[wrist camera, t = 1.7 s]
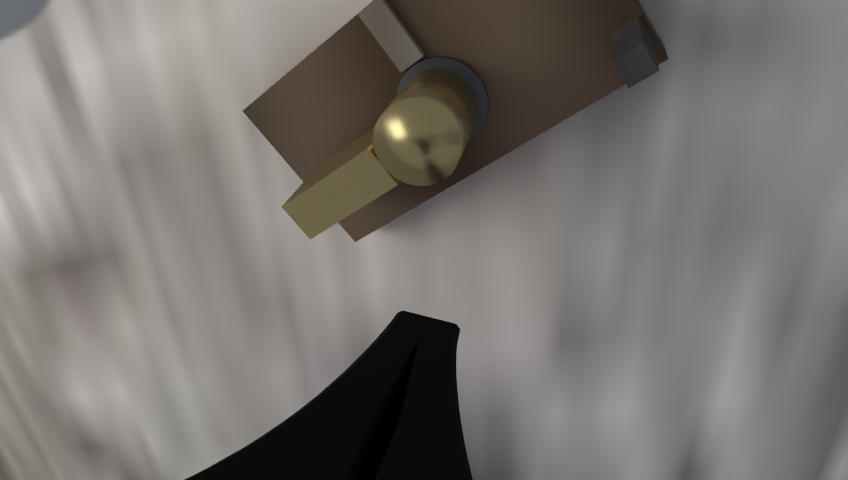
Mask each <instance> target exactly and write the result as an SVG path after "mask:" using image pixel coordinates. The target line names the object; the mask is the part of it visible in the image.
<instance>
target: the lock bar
mask: <svg viewBox="0 0 848 480" xmlns="http://www.w3.org/2000/svg"><path fill="white" fill-rule="evenodd" d="M477 118H478V102H477V99H476V96H475V93H474V91H473V90H472V88H471V87H470V85H469V84H468V83H467V82H466V81H465V80H464V79H463V78H461V77H460V76H459V75H457V74H455V73H453V72H450V71H447V70H443V69H430V70H426V71H423V72H420V73H418V74H417V75H415V76H414V77H413V78H411V79H410V81H409V82H408V83H407V84H406V85H405V86H404V88H403V89H402V90H401V91H400V93H399V94H398V95H397V96H396V98H395V99H394V100H393V101H392V103H391V104H390V105H389V106H388V107H387V109H386V110H385V111H384V112H383V114H382V115H381V116H380V118H379V119H378V121H377V123H376V125H375V127H373V128H372V129H371V130H369V131H368V132H366V133H365V134H363V135H362V136H361V137H359V138H358V139H356V140H355V141H353V142H352V143H351V144H349V145H348V146H346V147H345V148H343V149H342V150H341V151H339V152H338V153H336V154H335V155H333V156H332V157H331V158H329V159H328V160H326V161H325V162H323V163H322V164H321V165H319V166H318V167H316V168H315V170H314V171H313V172H312V173H311V174H310V175H309V176H308V178H307V179H306V180H305V181H304V182H303V183H302V184H301V185H300V187H299V188H298V189H297V190H296V191H295V192H294V193H293V195H292V196H291V197H290V198H289V199H288V200H287V201H286V203H285V204H284V205H283V206H282V208H283V209H284V210H285V211H286V212H287V213H288V215H289V216H290V217H291V218H292V219H293V220H294V221H295V223H296V224H297V225H298V226H299V227H300V228H301V229H302V230H303V232H304V233H305V234H306V235H307V236H308V237H309V238H310V239H312V238H313V237H315V236H316V235H318V234H320V233H321V232H323V231H325V230H326V229H328V228H329V227H331V226H333V225H334V224H336V223H337V222H339V221H341V220H342V219H344V218H346V217H347V216H349V215H350V214H352V213H354V212H355V211H357V210H358V209H360V208H362V207H363V206H365V205H367V204H368V203H370V202H371V201H373V200H375V199H376V198H378V197H379V196H381V195H383V194H384V193H386V192H388V191H389V190H391V189H392V188H394V187H396V186H397V185H398V184H399V182H400V181H402V182H404V183H407V184H411V185H416V186H428V185H433V184H436V183H439V182H441V181H443V180H444V179H446V178H447V177H448V176H449V175H450V174H451V173H452V172H453V171H454V170H455V168H456V166H457V164H458V162H459V160H460V158H461V155H462V153H463V151H464V149H465V147H466V144H467V142H468V140H469V138H470V136H471V133H472V131H473V129H474V127H475V124H476V122H477Z"/></svg>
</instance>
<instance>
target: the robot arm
mask: <svg viewBox="0 0 848 480" xmlns="http://www.w3.org/2000/svg"><path fill="white" fill-rule="evenodd" d="M459 332H460V329H459V327H458V326H457V325H456V324H454V323H450V322H446V321H442V320H438V319H434V318H430V317H426V316H422V315H418V314H414V313H410V312H406V311H401V312H399V313H397V314H396V316H395V317H394V318H393V320H392V321H391V322H390V323H389V325H388V326H387V327H386V328H385V330H384V331H383V332H382V333H381V334H380V335H379V337H378V338H377V339H376V340H375V341H374V342H373V343H372V344H371V345H370V346H369V348H368V349H367V350H366V351H365V352H364V353H363V354H362V355H361V356H360V357H359V358H358V359H357V360H356V361H355V362H354V363H353V364H352V365H351V366H350V367H349V368H348V369H347V370H346V371H345V372H343V373H342V374H341V375H340V376H339V377H338V378H337V379H336V380H335V381H333V382H332V383H331V384H330V385H329V386H328V387H327V388H325V389H324V390H323V391H322V392H321V393H320V394H319V395H317V396H316V397H315V398H314V399H313V400H311V401H310V402H309V403H308V404H306V405H305V406H304V407H302V408H301V409H300V410H299V411H297V412H296V413H295V414H293V415H292V416H290V417H289V418H288V419H286V420H285V421H284V422H282V423H281V424H279V425H278V426H276V427H275V428H273V429H272V430H270V431H269V432H267V433H266V434H264V435H263V436H262V437H260V438H258V439H257V440H255V441H254V442H252V443H251V444H249V445H247V446H246V447H244V448H242V449H241V450H239V451H237V452H235V453H234V454H232V455H230V456H228V457H226V458H225V459H223V460H221V461H219V462H218V463H216V464H214V465H212V466H210V467H209V468H207V469H205V470H203V471H201V472H199V473H197V474H195V475H193V476H191V477H189V478H187V479H185V480H473V479H472V475H471V471H470V466H469V462H468V458H467V453H466V448H465V443H464V438H463V432H462V426H461V419H460V412H459V404H458V392H457V380H456V350H457V342H458V337H459Z"/></svg>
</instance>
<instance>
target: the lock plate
mask: <svg viewBox="0 0 848 480" xmlns="http://www.w3.org/2000/svg"><path fill="white" fill-rule="evenodd" d="M666 60H668V56H667V53H666V49H665V47H664V45H663V43H662V42H661V40H660V38H659V36H658V35H657V33H656V31H655V29H654V28H653V26H652V24H651V23H650V21H649V19H648V17H647V16H646V14H645V12H644V10H643V9H642V7H641V5H640V3H639V2H638V0H374V1H372V2H371V3H370V4H369V5H368V6H366V7H365V8H364V9H363V10H362V11H361V12H359V13H358V14H357V15H356V16H355V17H354V18H353V19H351V20H350V21H349V22H348V23H347V24H345V25H344V26H343V27H342V28H341V29H339V30H338V31H337V32H336V33H335V34H334V35H332V36H331V37H330V38H329V39H328V40H326V41H325V42H324V43H323V44H322V45H320V46H319V47H318V48H317V49H316V50H315V51H313V52H312V53H311V54H310V55H309V56H307V57H306V58H305V59H304V60H303V61H301V62H300V63H299V64H298V65H297V66H295V67H294V68H293V69H292V70H291V71H290V72H288V73H287V74H286V75H285V76H284V77H282V78H281V79H280V80H279V81H278V82H276V83H275V84H274V85H273V86H272V87H270V88H269V89H268V90H267V91H266V92H265V93H263V94H262V95H261V96H260V97H259V98H257V99H256V100H255V101H254V102H253V103H251V104H250V105H249V106H248V107H247V108H246V109H244V110H243V112H244V113H245V114H246V115H247V117H248V118H249V119H250V120H251V121H252V122H253V124H254V125H255V126H256V127H257V128H258V129H259V131H260V132H261V133H262V134H263V135H264V136H265V137H266V139H267V140H268V141H269V142H270V143H271V144H272V146H273V147H274V148H275V149H276V150H277V151H278V153H279V154H280V155H281V156H282V157H283V158H284V160H285V161H286V162H287V163H288V164H289V165H290V167H291V168H292V169H293V170H294V171H295V172H296V174H297V175H298V176H299V177H300V178H301V179H302V181H303V182H304V181H305V180H306V179H307V178H308V176H309V175H310V174H311V173H312V172H313V171H314V170H315V168H316V167H318V166H319V165H321V164H322V163H323V162H325V161H326V160H328V159H329V158H331V157H332V156H333V155H335V154H336V153H338V152H339V151H341V150H342V149H343V148H345V147H346V146H348V145H349V144H351V143H352V142H353V141H355V140H356V139H358V138H359V137H361V136H362V135H363V134H365V133H366V132H368V131H369V130H371V129H372V128H373V127H375V125H376V123H377V121H378V119H379V118H380V116H381V115H382V114H383V112H384V111H385V110H386V109H387V107H388V106H389V105H390V104H391V103H392V101H393V100H394V99H395V98H396V96H397V95H398V94H399V93H400V91H401V90H402V89H403V88H404V86H405V85H406V84H407V83H408V82H409V81H410V79H411V78H413V77H414V76H415V75H417V74H418V73H420V72H423V71H426V70H430V69H443V70H447V71H450V72H453V73H455V74H457V75H459V76H460V77H461V78H463V79H464V80H465V81H466V82H467V83H468V84H469V85H470V87H471V88H472V90H473V91H474V93H475V96H476V99H477V102H478V118H477V122H476V124H475V127H474V129H473V131H472V133H471V136H470V138H469V140H468V142H467V144H466V147H465V149H464V151H463V153H462V155H461V158H460V160H459V162H458V164H457V166H456V168H455V170H454V171H453V172H452V173H451V174H450V175H449V176H448V177H447V178H446V179H444V180H443V181H441V182H439V183H436V184H433V185H428V186H416V185H411V184H407V183H404V182H402V181H400V182H399V184H398V185H397V186H396V187H394V188H392V189H391V190H389V191H388V192H386V193H384V194H383V195H381V196H379V197H378V198H376V199H375V200H373V201H371V202H370V203H368V204H367V205H365V206H363V207H362V208H360V209H358V210H357V211H355V212H354V213H352V214H350V215H349V216H347V217H346V218H344V219H342V220H341V221H339V224H340V225H341V226H342V227H343V228H344V229H345V231H346V232H347V233H348V234H349V235H350V236H351V238H352V239H353V240H354V241H355V242H356V241H358V240H359V239H361V238H363V237H365V236H366V235H368V234H370V233H371V232H373V231H375V230H376V229H378V228H380V227H382V226H383V225H385V224H387V223H388V222H390V221H392V220H394V219H395V218H397V217H399V216H400V215H402V214H404V213H406V212H407V211H409V210H411V209H412V208H414V207H416V206H418V205H419V204H421V203H423V202H424V201H426V200H428V199H430V198H431V197H433V196H435V195H436V194H438V193H440V192H442V191H443V190H445V189H447V188H448V187H450V186H452V185H454V184H455V183H457V182H459V181H460V180H462V179H464V178H466V177H467V176H469V175H471V174H472V173H474V172H476V171H477V170H479V169H481V168H483V167H484V166H486V165H488V164H489V163H491V162H493V161H495V160H496V159H498V158H500V157H501V156H503V155H505V154H507V153H508V152H510V151H512V150H513V149H515V148H517V147H519V146H520V145H522V144H524V143H525V142H527V141H529V140H531V139H532V138H534V137H536V136H537V135H539V134H541V133H543V132H544V131H546V130H548V129H549V128H551V127H553V126H555V125H556V124H558V123H560V122H561V121H563V120H565V119H567V118H568V117H570V116H572V115H573V114H575V113H577V112H578V111H580V110H582V109H584V108H585V107H587V106H589V105H590V104H592V103H594V102H596V101H597V100H599V99H601V98H602V97H604V96H606V95H608V94H609V93H611V92H613V91H614V90H616V89H618V88H620V87H621V86H623V85H625V84H626V85H627V86H628V88H630V87H631V86H633V85H635V84H637V83H638V82H640V81H642V80H643V79H645V78H647V77H649V76H650V75H652V74H654V73H656V72H657V71H659V68H658V65H659V64H661V63H662V62H664V61H666Z"/></svg>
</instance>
